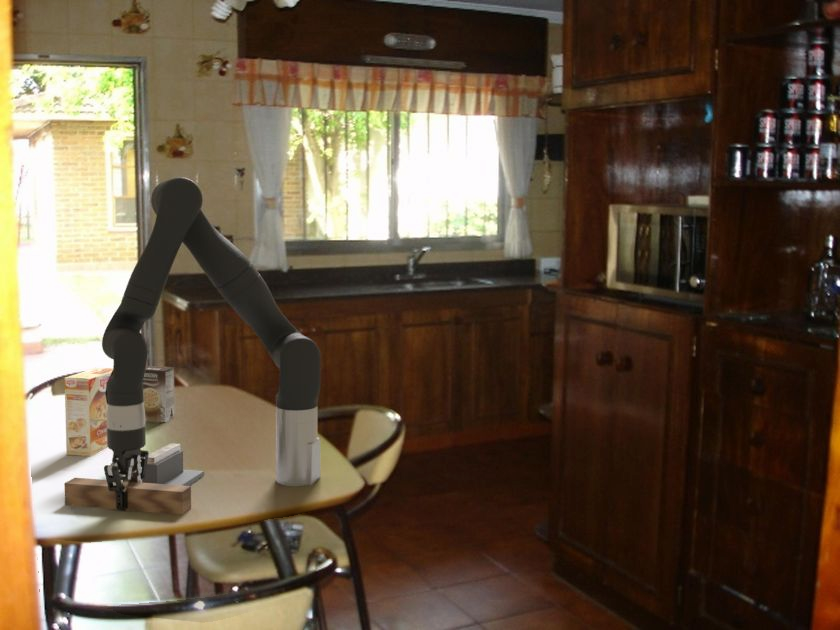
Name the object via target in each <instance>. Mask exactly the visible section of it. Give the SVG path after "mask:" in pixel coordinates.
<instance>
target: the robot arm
mask: <svg viewBox="0 0 840 630" xmlns="http://www.w3.org/2000/svg"><path fill="white" fill-rule="evenodd" d="M150 200H151V201H150V203H151V208H152V209H153V213H154V214H155V215H156V217H155V222H154V225H153V229H152V230H151V231H152V232H151V234H150V237H149V239H148V241H147V244H146V246H145V247H144V250H143V251H142V253H141V255H140V257H139V259H138V261H137V262H136V264H135V266H134V268H133V269H132V272H131V274H130V277H129V279H128V282H127V285H126V286H125V287H126V288H125V290H124V293H123V296H122V298H121V302H120V303H119V306H118V308H117V309H116V310H115V312H114V314H113V316H112V317H111V319H110V320H109V322H108V324H107V326H106V327H105V330H104V332H103V335H102V341H101V347H102V348H101V349H102V351H103V353H104V354H105V355H106V356H107V357H108V358H109V359H111V360H112V361H113V366H112V369H113V375H112V376H110V377H109V379H108V383H107V396H108V407H107V446H108V447H107V448H108V449H109V450H111V451H112V452H113V453H112V459H111V463H110V464H109V465H107V464H106V465H104V467H103V470H104V476H105V478H106V479H105V480H107V484H108V489H109V491H115V493H116V508H117V509H116V510H121V511H127V510H126V509H127V508H128V495H127V488H128V482H141V480H142V479H145V476H146V469H147V461H148V455H149V454H150V453H149V451H148V450H144V449H143V450H142V448H144V447H145V446H146V443H147V442H146V439H147V438H146V434H147V433H146V422H145V409H144V400H143V378H144V374H145V369H146V366H147V362H148V351H149V350H148V345H147V340H146V338H145V336H144V335H143V334H142V333H141V331H142V329H143V326H144V325H145V323H146V322H147V321H150V320H151V319H152V318H153V317H154V316H155V313H156V311H157V309H158V306H159V303H160V301H161V297H162V296H163V295H162V294H163V291H164V289H165V286H166V285H167V281H168V278H169V275H170V272H171V269H172V268H173V267H172V266H173V264H174V262H175V259H176V258H177V255H178V252H179V250H180V248H181V245H182V244H184V246H185V247H186V248H187V249H188V250H189V252H190V253H191V255H192V257H193V258H194V259H195V261H196V263H198V264H197V265H198V266H199V267H200V268H201V269H202V271H203V272H204V274H205V275H206V277H207V278H208V279H209V280H210V282H211V283H212V285H213V286H214V287H215V289H216V290H217V291H218V293H219V294H220V295H221V296H222V298H223V299H224V300H225V301H226V302H227V304H228V305H230V306H231V308H232V309H233V310H234V311H235V313H237V315H238V316H239V317H240V318H241V319H242V320H243V321H244V322H245V323H246V324H247V325H248V326H249V327H250V328H251V329H252V331H254V333H255V334H256V336H257V337H258V338H259V340H260V342H261V343H262V344H263V347H265V349H266V350H267V353H268V354H269V356H270V357H271V359H272V361H273V362H274V365H275V366H276V367H277V368H278V369H279V384H278V385H279V387H278V388H279V389H278V392H276V395H275V481H276V483H277V484H278V485H281V486H284V487H285V486H286V487H302V486H303V487H304V486H313V484H315V483H316V481H318V480H319V479H320V478H321V438H320V437H318V404H319V403H318V400H319V397H320V394H321V393H320V392H321V378H322V377H321V376H322V357H321V350H320V348H319V345H317V343H316V342H315V341H314V340H313V339H311V338H309V337H308V336H305V335H304V334H303V333H301V332H300V331H299V330H298V329H297V328H296V327H295V326H294V325H293V324H292V323H291V322H290V321H289V320H288V318H287V317H286V316H285V315H284V313H282V311H281V309H280V308H279V307H278V304H277V302H276V301H275V299H274V297H273V293H272V292H271V290H270V289H269V286H268V285H267V282H266V281H265V279H264V278H263V277H262V275H261V274H260V272H259V271H258V269H257V268H256V267H255V265H254V264H253V263H252V261H250V259H249V258H248V257H247V256H246V254H244V253H243V252H242V251H241V250H240V249H239V248H238V247H237V246H236V245H234V244H233V242H231V241H230V240H229V239H228V238H226V237H225V236H224V235H223V234H222V233H220V231H219V230H218V229H216V228H215V227H214V225H213V224H212V223H211V222H210V220H209V219H208V218H207V216H206V215H205V213H204V212H203V210H202V206H203V193H202V191H201V189H200V187H199V186H198V184H197V183H196V182H195V181H193V180H192V179H190V178H188V177H182V176H178V177H172V178H170V179H169V178H168V179H166V180H163V181H162V182H160V183H158V184H157V185H156V186H155V187H154V189H153V190H152V193H151V197H150ZM122 475H123V476H122ZM121 481H123V486H122V483H121ZM113 482H114V485H113Z"/></svg>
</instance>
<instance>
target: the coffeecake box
mask: <svg viewBox="0 0 840 630" xmlns="http://www.w3.org/2000/svg"><path fill="white" fill-rule="evenodd" d="M112 371H113V368H112V367H111V368H108V367H106V368H105V367H93V368H90V369H88V370H85V371H82V372H78V373H75V374H72V375H69V376H65V377H63V378H64V400H65V401H64V404H65V405H64V407H65V413H64V414H65V441H66V443H65V444H66V445H65V447H66V449H65V451H66V455H67V456H68V455H69V456H83V457H93V456H94V455H96V454H98V453H99V452H101V451H103V450H105V449H106V448H108V446H107V407H108V405H107V401H106V394H105V393H106V385H107V381H108V379H109V377H110V375H111V373H112Z"/></svg>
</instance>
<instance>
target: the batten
mask: <svg viewBox="0 0 840 630" xmlns="http://www.w3.org/2000/svg"><path fill="white" fill-rule="evenodd" d="M121 483H122V486H123V480H121ZM113 485H114V482H113ZM191 489H192V486H191V485H190V486H182V485H168V484H154V483H141V482H128V488H127V495H128V508H127V509H126V510H125V511H134V512H145V513H146V512H148V513H156V514H157V513H159V514H170V515H172V514H173V515H184V514H186V513H187V512H188V511H190V510H191V509H192V490H191ZM64 506H71V507H83V508H96V509H106V510H107V509H109V510H118V509H117V508H116V493H115V491H109V489H108V484H107V480H106V479H101V478H100V479H99V478H98V479H96V478H85V477H83V478H82V477H73V478H72V479H70V480H68V481H65V482H64Z"/></svg>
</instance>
